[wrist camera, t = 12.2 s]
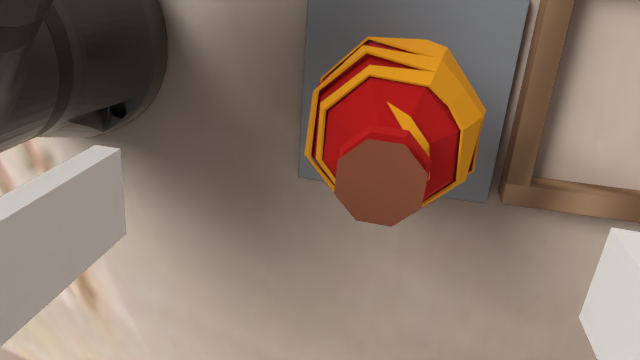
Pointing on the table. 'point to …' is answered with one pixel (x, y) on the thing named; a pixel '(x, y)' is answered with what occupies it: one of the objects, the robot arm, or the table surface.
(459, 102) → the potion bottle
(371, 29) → the coaster
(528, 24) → the table surface
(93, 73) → the robot arm
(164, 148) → the table surface
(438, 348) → the table surface
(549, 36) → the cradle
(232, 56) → the table surface
